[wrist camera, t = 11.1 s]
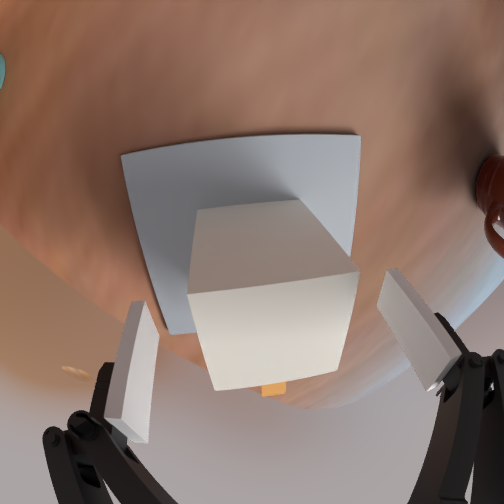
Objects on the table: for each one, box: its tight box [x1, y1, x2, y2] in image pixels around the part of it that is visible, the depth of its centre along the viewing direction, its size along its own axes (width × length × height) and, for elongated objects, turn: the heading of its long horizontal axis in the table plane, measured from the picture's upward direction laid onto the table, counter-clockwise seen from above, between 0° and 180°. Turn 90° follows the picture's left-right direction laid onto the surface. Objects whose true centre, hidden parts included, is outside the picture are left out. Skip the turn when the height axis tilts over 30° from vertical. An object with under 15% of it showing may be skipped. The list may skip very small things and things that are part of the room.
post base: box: [121, 134, 361, 335], centre depth 18 cm, size 16×16×6 cm
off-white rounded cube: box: [187, 199, 360, 397], centre depth 17 cm, size 10×7×9 cm, turn 3°
